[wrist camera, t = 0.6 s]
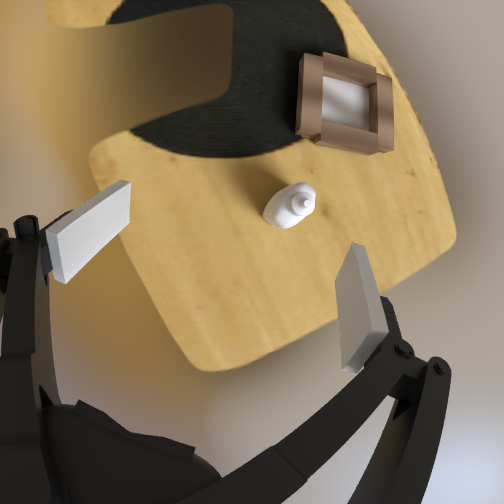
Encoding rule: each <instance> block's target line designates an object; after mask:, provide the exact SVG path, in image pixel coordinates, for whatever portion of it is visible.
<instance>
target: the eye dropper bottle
mask: <svg viewBox="0 0 504 504" xmlns="http://www.w3.org/2000/svg"><path fill="white" fill-rule="evenodd" d="M315 196H316V193H315V191H314V190H313V188H311V187H310V186H309V185H308V184H307V183H305V182H299V183H296V184H293V185H291V186H288V187H285V188H283V189H281V190H280V191H278V192H277V193H276V194H275V195H274V196H273V197H272V198H271V199H270V200H269V202H268V203H267V205H266V207H265V209H264V212H263V218H264V219H265V220H266V221H267V222H268V223H269V224H270V225H271V226H273V227H278V228H283V229H285V228H289V227H291V226H293V225H295V224H297V223H298V222H300V221H301V220H302V219H303V218H304V217H305V216H307V215H309V214H311V212H312V211H313V210H314V207H315V206H314V205H315V202H314V200H315Z"/></svg>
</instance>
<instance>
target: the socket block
mask: <svg viewBox="0 0 504 504" xmlns="http://www.w3.org/2000/svg"><path fill="white" fill-rule="evenodd" d="M295 134H296V135H301V137H307V138H313V139H314V145H319V146H325V147H330V148H335V149H340V150H345V151H350V152H354V153H359V154H363V155H367V156H369V155H372V154H375V153H378V152H382V153H386V152H389V151H392V150H394V111H393V90H392V78H390V77H387V76H385V75H382V74H379V73H376V67H373V66H371V65H368V64H364V63H361V62H358V61H355V60H352V59H348V58H345V57H341V56H338V55H334V54H330V53H326V52H323V53H322V54H321V56H316V55H312V54H307V53H304V54H303V56H302V58H301V60H300V61H299V79H298V97H297V113H296V127H295Z"/></svg>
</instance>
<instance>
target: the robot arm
mask: <svg viewBox="0 0 504 504" xmlns="http://www.w3.org/2000/svg"><path fill="white" fill-rule="evenodd" d="M130 189H131V182H127V181H123V180H119V181H118V182H116V183H114V184H113V185H111V186H109V187H108V188H106V189H105V190H103V191H101V192H100V193H98V194H97V195H95V196H94V197H92V198H91V199H89V200H88V201H86V202H85V203H83V204H82V205H80V206H79V207H77V208H76V209H74V210H70V211H68V212H65V213H64V214H62V215H61V216H59V218H56V219H55V220H54V221H52V222H51V223H50V224H48V225H47V226H45V227H44V228H43V229H41V230H39V224H38V218H37V217H36V216H34V215H26V216H22V217H20V218H18V219H17V220H16V221H15V222H14V229H15V234H16V238H9V236H8V231H7V229H5V228H0V322H1V319H2V316H3V327H2V344H1V345H2V346H1V357H0V504H281V503H282V502H284V501H285V500H286V499H287V498H289V497H290V496H291V495H292V494H294V493H295V492H296V491H297V490H298V489H299V488H301V487H302V486H303V485H304V484H305V483H306V482H307V480H308V478H309V477H310V476H311V475H313V474H314V473H315V472H316V471H317V470H318V469H319V468H320V467H321V466H322V465H323V464H324V463H325V462H327V461H328V459H330V458H331V457H332V456H333V455H334V454H335V453H336V452H337V451H338V450H339V449H340V448H341V447H342V446H343V445H344V444H345V443H346V442H347V441H348V440H349V438H350V437H351V436H352V435H353V434H354V433H355V432H356V431H357V430H358V429H359V428H360V427H361V425H362V424H363V423H364V422H365V421H366V420H367V419H368V417H369V416H370V415H371V414H372V413H373V412H374V410H375V409H376V408H377V407H378V406H379V404H380V403H381V402H382V401H383V399H384V398H385V397H386V396H387V395H389V396H391V397H393V398H395V401H394V404H393V407H392V410H391V412H390V415H389V418H388V421H387V423H386V425H385V428H384V430H383V433H382V435H381V437H380V440H379V442H378V444H377V446H376V449H375V451H374V453H373V455H372V457H371V459H370V462H369V464H368V466H367V468H366V470H365V472H364V474H363V476H362V478H361V480H360V482H359V484H358V485H357V487H356V489H355V491H354V493H353V494H352V497H351V498H350V500H349V502H348V503H347V504H421V502H422V499H423V496H424V493H425V491H426V488H427V485H428V482H429V479H430V475H431V472H432V469H433V465H434V462H435V458H436V455H437V451H438V446H439V443H440V438H441V434H442V429H443V425H444V420H445V414H446V409H447V403H448V397H449V390H450V383H451V369H450V367H449V365H448V364H447V362H446V361H445V360H443V359H442V358H440V357H432V358H431V359H430V360H429V361H428V362H425V361H423V360H421V359H419V358H417V357H415V354H414V350H413V348H412V347H411V345H410V344H409V343H408V342H406V341H405V340H403V339H402V336H401V332H400V329H399V325H398V322H397V320H396V315H395V312H394V309H393V305H392V304H391V302H390V301H389V300H388V298H386V297H383V296H380V295H379V292H378V288H377V285H376V281H375V278H374V275H373V271H372V268H371V265H370V262H369V259H368V255H367V252H366V249H365V246H362V245H359V244H356V243H353V242H352V244H351V246H350V249H349V251H348V253H347V255H346V258H345V260H344V262H343V264H342V266H341V269H340V271H339V273H338V275H337V277H336V279H335V288H336V298H337V308H338V320H339V332H340V346H341V362H342V371H348V372H354V373H358V372H359V371H360V369H361V368H362V367H363V366H364V369H363V370H362V371H361V372H360V373H359V374H358V375H357V376H356V377H355V378H354V379H353V380H351V381H350V382H349V383H348V384H347V385H346V386H345V387H344V388H343V389H342V390H341V391H340V392H339V393H338V394H337V395H335V396H334V397H333V398H332V399H331V400H330V401H329V402H328V403H327V404H325V405H324V406H323V407H322V408H321V409H320V410H318V411H317V412H316V413H315V414H314V415H313V416H311V417H310V418H309V419H308V420H307V421H305V422H304V423H303V424H302V425H300V426H299V427H298V428H297V429H295V430H294V431H293V432H292V433H290V434H289V435H288V436H286V437H285V438H284V439H282V440H281V441H280V442H279V443H277V444H276V445H274V446H271V447H269V448H268V449H266V450H265V451H263V452H262V453H260V454H259V455H257V456H256V457H254V458H253V459H251V460H250V461H248V462H247V463H245V464H244V465H242V466H241V467H239V468H238V469H236V470H235V471H233V472H231V473H230V474H228V475H226V476H225V477H223V478H222V477H221V476H220V474H219V473H218V472H217V471H216V470H215V468H214V467H213V466H211V465H210V464H209V463H208V462H207V461H205V460H204V459H203V458H201V457H200V456H197V455H196V454H194V451H195V447H193V446H189V445H186V444H183V443H180V442H177V441H174V440H171V439H168V438H165V437H159V436H151V435H144V434H138V433H132V432H130V431H128V430H126V429H125V428H124V427H122V426H121V425H120V424H118V423H117V422H116V421H115V420H113V419H112V418H111V417H109V416H108V415H107V414H106V413H104V412H103V411H100V410H98V409H96V408H94V407H92V406H90V405H89V404H87V403H85V402H83V401H81V400H78V402H77V404H76V405H75V406H74V405H69V404H62V403H61V400H60V398H59V394H58V389H57V383H56V376H55V369H54V361H53V352H52V341H51V328H50V306H49V277H48V273H49V272H50V271H51V270H52V269H53V274H54V278H55V280H58V281H60V282H62V283H64V284H66V283H67V282H68V281H69V280H70V279H71V278H72V277H73V276H74V275H75V274H76V273H77V272H78V271H79V270H80V269H81V268H82V267H83V266H84V265H85V264H86V263H87V262H88V261H89V260H90V259H91V258H92V257H93V256H94V255H95V254H96V253H97V252H98V251H99V250H100V249H102V248H103V247H104V245H106V244H107V243H108V242H109V241H110V240H111V239H112V238H113V237H114V236H115V235H117V234H118V233H119V232H120V231H121V230H122V229H123V228H124V227H125V226H127V225H128V224H129V217H130ZM3 314H4V315H3Z"/></svg>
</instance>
